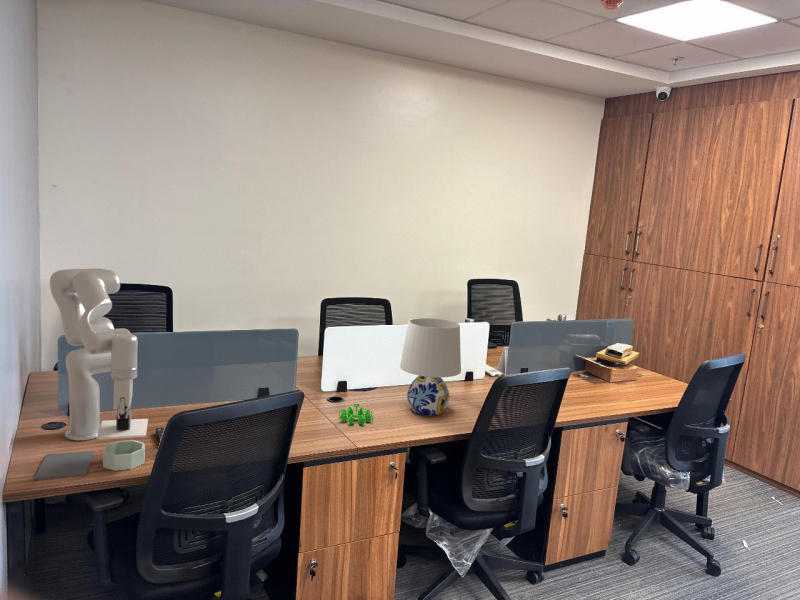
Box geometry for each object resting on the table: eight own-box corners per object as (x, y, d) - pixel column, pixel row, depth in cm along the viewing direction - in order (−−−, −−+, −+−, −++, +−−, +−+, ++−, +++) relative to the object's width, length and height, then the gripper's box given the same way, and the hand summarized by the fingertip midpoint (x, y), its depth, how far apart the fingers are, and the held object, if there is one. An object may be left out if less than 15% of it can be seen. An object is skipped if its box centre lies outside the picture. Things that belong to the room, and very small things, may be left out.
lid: (102, 422, 195) (102, 406, 194) (148, 420, 200) (148, 404, 199) (96, 439, 182) (96, 422, 181) (145, 436, 187) (146, 420, 186)
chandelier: (378, 418, 250) (379, 402, 249) (366, 429, 236) (367, 413, 235) (345, 412, 254) (346, 397, 253) (332, 423, 240) (333, 407, 239)
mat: (46, 455, 193) (46, 454, 193) (94, 452, 198) (94, 450, 198) (34, 480, 176) (34, 478, 176) (86, 475, 181) (86, 474, 181)
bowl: (106, 456, 195) (106, 441, 195) (145, 453, 200) (145, 439, 199) (101, 471, 184) (101, 456, 184) (143, 468, 189) (143, 453, 188)
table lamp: (412, 396, 281) (418, 314, 275) (465, 408, 270) (473, 323, 264) (386, 412, 257) (392, 322, 251) (444, 425, 246) (451, 332, 240)
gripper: (113, 365, 194) (113, 417, 197) (108, 380, 179) (107, 437, 182) (138, 364, 197) (137, 416, 200) (135, 380, 181) (134, 436, 184)
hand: (123, 426), depth 191 cm, fingers closed on lid, 4 cm apart
